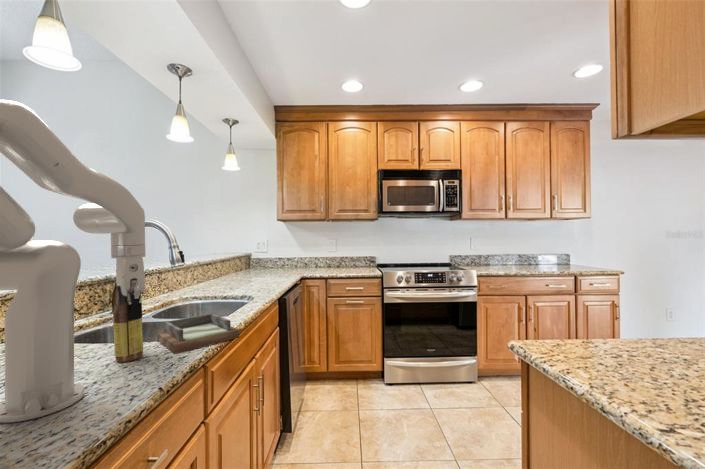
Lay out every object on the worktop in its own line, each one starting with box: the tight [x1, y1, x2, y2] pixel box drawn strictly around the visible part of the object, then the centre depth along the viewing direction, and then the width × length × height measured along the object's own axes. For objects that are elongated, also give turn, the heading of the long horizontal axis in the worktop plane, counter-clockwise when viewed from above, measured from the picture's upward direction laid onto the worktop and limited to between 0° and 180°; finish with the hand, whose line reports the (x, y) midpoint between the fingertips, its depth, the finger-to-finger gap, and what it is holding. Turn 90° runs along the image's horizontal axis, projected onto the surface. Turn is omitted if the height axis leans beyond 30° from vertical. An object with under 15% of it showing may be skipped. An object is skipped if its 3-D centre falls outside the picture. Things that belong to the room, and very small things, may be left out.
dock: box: [156, 313, 240, 355], centre depth 100 cm, size 16×19×6 cm
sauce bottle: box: [112, 284, 144, 363], centre depth 85 cm, size 6×6×20 cm
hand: (130, 315), depth 85 cm, fingers open, 9 cm apart
